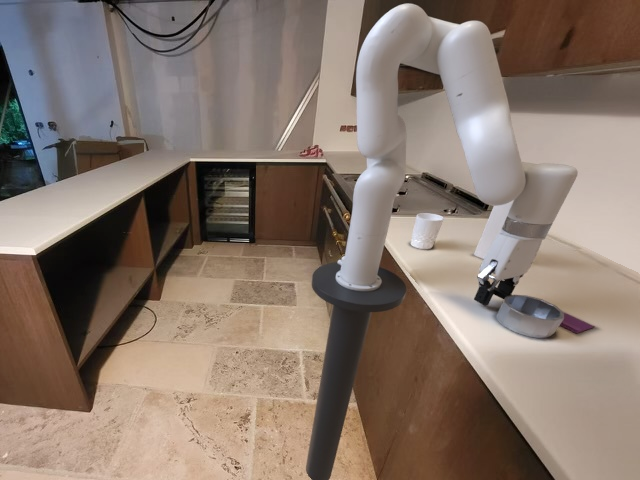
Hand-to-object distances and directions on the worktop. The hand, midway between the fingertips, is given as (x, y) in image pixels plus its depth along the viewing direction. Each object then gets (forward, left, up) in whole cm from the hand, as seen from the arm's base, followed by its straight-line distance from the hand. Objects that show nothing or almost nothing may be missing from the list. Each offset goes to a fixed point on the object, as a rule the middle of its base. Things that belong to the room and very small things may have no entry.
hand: (491, 299), depth 77 cm
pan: (+6, 0, -2) cm, 6 cm away
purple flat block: (+8, +9, -2) cm, 13 cm away
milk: (-20, +26, -2) cm, 33 cm away
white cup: (-35, +14, -2) cm, 37 cm away
